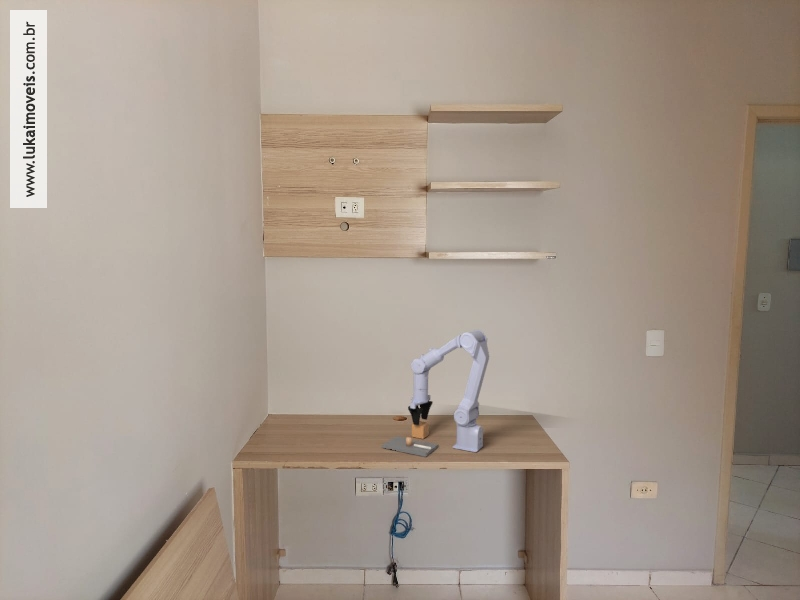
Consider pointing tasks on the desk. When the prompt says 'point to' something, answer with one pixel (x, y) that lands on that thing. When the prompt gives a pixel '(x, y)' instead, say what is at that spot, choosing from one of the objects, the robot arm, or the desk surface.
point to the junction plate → (410, 446)
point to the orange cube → (420, 430)
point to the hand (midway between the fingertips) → (420, 421)
